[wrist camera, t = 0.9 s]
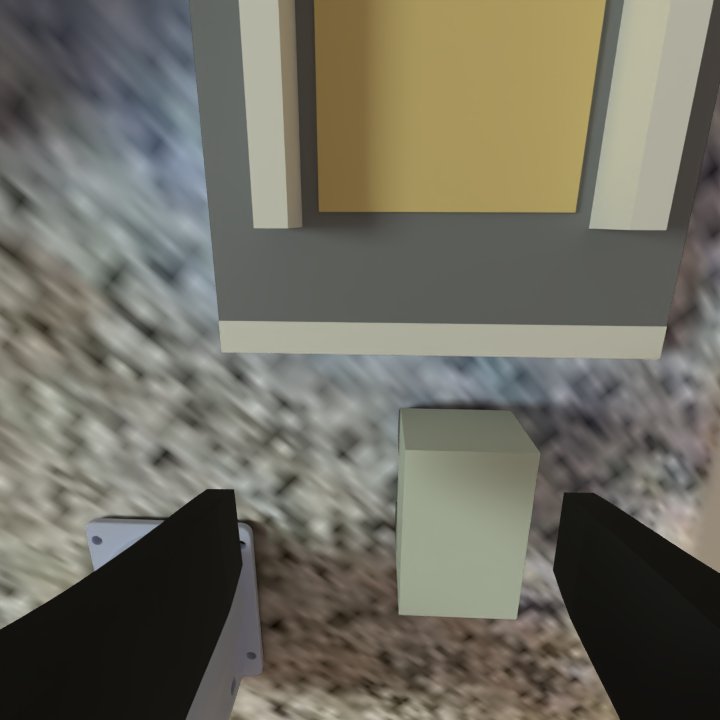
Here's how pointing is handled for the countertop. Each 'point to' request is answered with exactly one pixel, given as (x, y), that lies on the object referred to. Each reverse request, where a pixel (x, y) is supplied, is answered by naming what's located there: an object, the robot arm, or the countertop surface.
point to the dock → (452, 171)
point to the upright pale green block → (462, 512)
